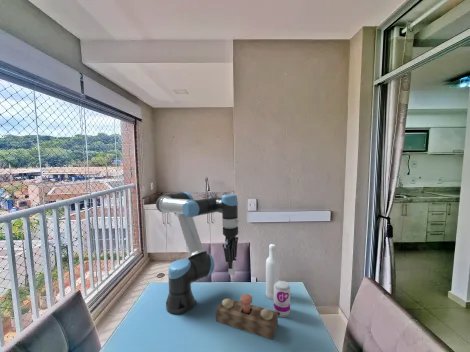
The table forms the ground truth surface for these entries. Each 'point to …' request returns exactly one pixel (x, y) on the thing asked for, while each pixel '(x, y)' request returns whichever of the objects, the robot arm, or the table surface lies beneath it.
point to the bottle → (271, 271)
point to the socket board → (247, 319)
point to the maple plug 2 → (266, 314)
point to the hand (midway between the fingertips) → (231, 274)
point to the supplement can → (282, 298)
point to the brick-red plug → (246, 303)
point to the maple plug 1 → (227, 303)
